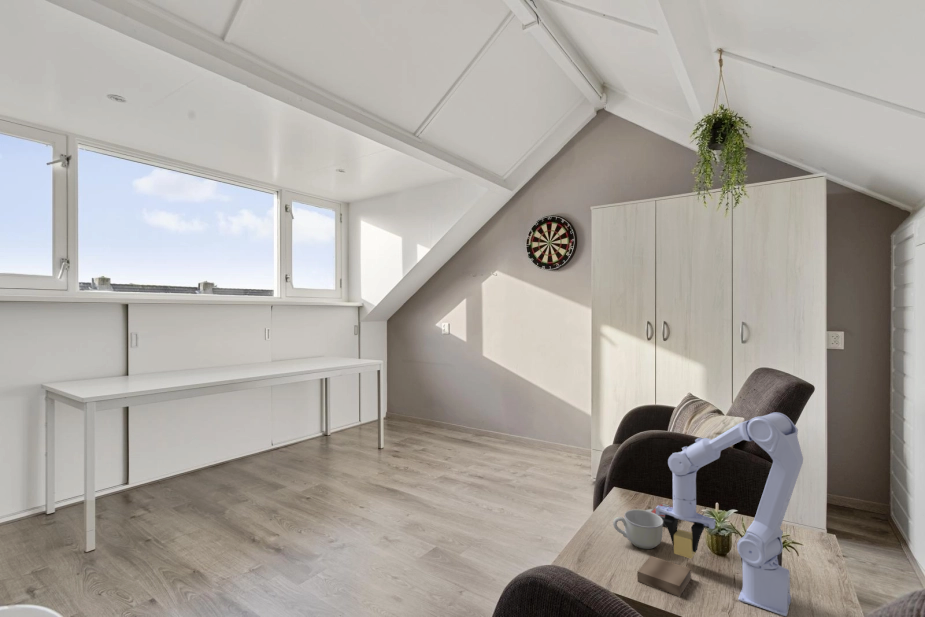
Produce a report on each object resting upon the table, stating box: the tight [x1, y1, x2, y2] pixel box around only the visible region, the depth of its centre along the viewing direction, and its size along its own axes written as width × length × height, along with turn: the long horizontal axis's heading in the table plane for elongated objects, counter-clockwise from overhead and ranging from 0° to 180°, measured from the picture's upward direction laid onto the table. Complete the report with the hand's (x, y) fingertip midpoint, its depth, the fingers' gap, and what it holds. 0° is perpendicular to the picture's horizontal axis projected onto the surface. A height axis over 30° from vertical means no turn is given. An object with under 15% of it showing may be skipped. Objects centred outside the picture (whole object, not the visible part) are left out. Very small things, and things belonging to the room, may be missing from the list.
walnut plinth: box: [636, 555, 692, 597], centre depth 119 cm, size 10×10×2 cm
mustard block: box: [673, 528, 697, 560], centre depth 126 cm, size 4×4×5 cm
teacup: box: [612, 508, 664, 550], centre depth 138 cm, size 14×11×8 cm
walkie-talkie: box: [645, 503, 673, 527], centre depth 153 cm, size 9×4×20 cm
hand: (684, 547), depth 126 cm, fingers closed on mustard block, 4 cm apart
